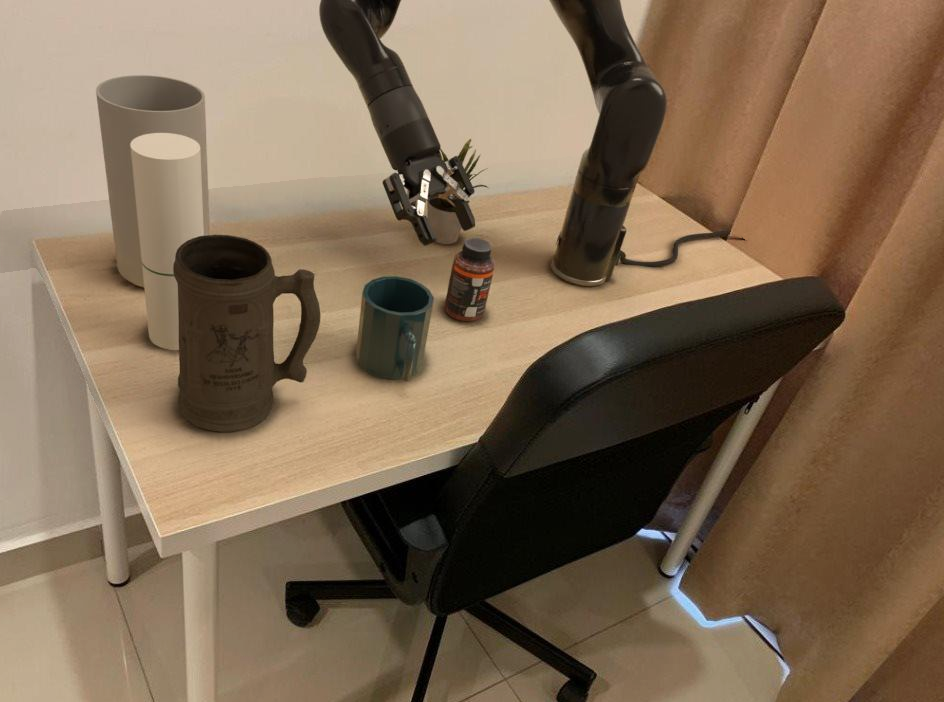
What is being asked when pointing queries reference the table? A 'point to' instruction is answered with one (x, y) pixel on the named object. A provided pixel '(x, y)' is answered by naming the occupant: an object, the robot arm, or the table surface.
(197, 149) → the cylindrical container
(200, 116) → the cylinder vase
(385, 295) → the mug
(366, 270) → the table surface
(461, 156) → the house plant
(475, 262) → the supplement bottle
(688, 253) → the table surface
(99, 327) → the table surface
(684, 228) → the table surface
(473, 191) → the robot arm
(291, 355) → the beer stein
